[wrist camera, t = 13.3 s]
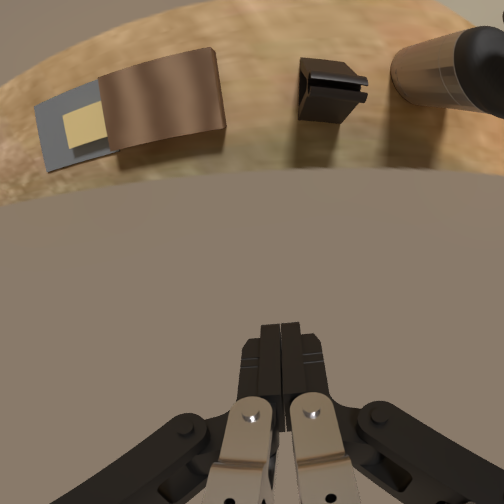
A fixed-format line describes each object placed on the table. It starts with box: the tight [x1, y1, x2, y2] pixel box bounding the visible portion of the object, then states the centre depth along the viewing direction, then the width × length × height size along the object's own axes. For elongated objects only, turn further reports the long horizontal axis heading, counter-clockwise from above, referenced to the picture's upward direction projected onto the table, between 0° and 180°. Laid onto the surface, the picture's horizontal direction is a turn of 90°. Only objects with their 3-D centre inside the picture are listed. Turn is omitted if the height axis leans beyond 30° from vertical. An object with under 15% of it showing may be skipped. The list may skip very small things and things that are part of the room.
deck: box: [98, 47, 227, 152], centre depth 38 cm, size 16×11×4 cm
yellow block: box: [63, 101, 107, 149], centre depth 40 cm, size 8×6×2 cm
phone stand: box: [298, 58, 368, 124], centre depth 33 cm, size 9×6×12 cm, turn 178°
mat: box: [34, 79, 120, 172], centre depth 41 cm, size 15×12×1 cm
